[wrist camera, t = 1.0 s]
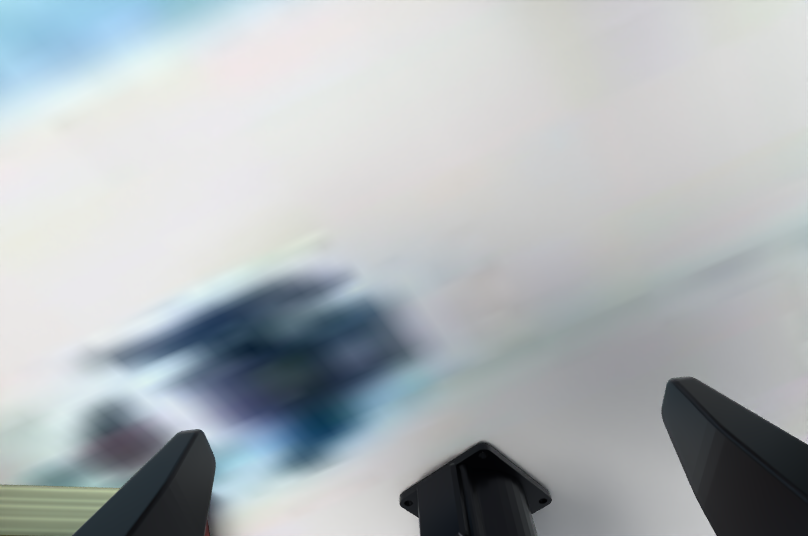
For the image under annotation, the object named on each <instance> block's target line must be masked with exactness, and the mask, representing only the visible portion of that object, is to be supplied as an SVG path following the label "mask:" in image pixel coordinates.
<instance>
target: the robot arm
mask: <svg viewBox="0 0 808 536" xmlns="http://www.w3.org/2000/svg"><path fill="white" fill-rule="evenodd" d="M661 411H662V419H663V422H664V424H665V427H666V429H667V431H668V434H669V436H670V438H671V441H672V443H673V445H674V448H675V450H676V453H677V455H678V457H679V460H680V462H681V464H682V467H683V469H684V471H685V474H686V476H687V478H688V481H689V483H690V485H691V488H692V490H693V492H694V494H695V496H696V498H697V500H698V502H699V504H700V506H701V508H702V510H703V512H704V513H705V515H706V517H707V519H708V521H709V523H710V524H711V526H712V528H713V530H714V532H715V533H716V535H717V536H808V445H807V444H806V443H804V442H802V441H801V440H799V439H797V438H795V437H794V436H792V435H790V434H789V433H787V432H785V431H784V430H782V429H780V428H779V427H777V426H775V425H773V424H772V423H770V422H768V421H767V420H765V419H763V418H762V417H760V416H758V415H757V414H755V413H753V412H751V411H750V410H748V409H746V408H745V407H743V406H741V405H740V404H738V403H736V402H735V401H733V400H731V399H729V398H728V397H726V396H724V395H723V394H721V393H719V392H718V391H716V390H714V389H713V388H711V387H709V386H707V385H706V384H704V383H702V382H701V381H699V380H697V379H695V378H693V377H680V378H672V379H670V380H669V381H668V382H667V385H666V390H665V394H664V399H663V404H662V410H661ZM482 452H483V453H482ZM215 468H216V462H215V457H214V454H213V452H212V450H211V447H210V445H209V443H208V441H207V438H206V436H205V434H204V432H203V431H202V430H199V429H196V430H186V431H181V432H179V433H177V434H176V435H175V436H174V437H173V438H172V439H171V440H170V441H169V442H168V443H167V444H166V445H165V446H164V447H163V448H162V449H160V450H159V451H158V452H157V453H156V454H155V455H154V456H153V457H152V458H151V459H150V460H149V461H148V462H147V463H146V464H145V465H144V466H143V467H142V468H141V469H140V470H139V471H138V472H137V473H136V474H135V475H134V476H133V477H132V478H131V479H130V480H129V481H127V482H126V483H125V484H124V485H123V486H122V487H121V488H120V489H119V490H118V491H117V492H116V493H115V494H114V495H113V496H112V497H111V498H110V499H109V500H108V501H107V502H106V503H105V504H104V505H103V506H102V507H101V508H100V509H99V510H98V511H97V512H96V513H94V514H93V515H92V516H91V517H90V518H89V519H88V520H87V521H86V522H85V523H84V524H83V525H82V526H81V527H80V528H79V529H78V530H77V531H76V532H75V533H74V534H73V535H72V536H204V535H205V529H206V523H207V517H208V511H209V505H210V499H211V493H212V487H213V481H214V475H215ZM551 501H552V499H551V496H550V493H549V491H548V490H546V489H545V488H544V487H542V486H541V485H540V484H539V483H537V482H536V481H535V480H534V479H532V478H531V477H530V476H528V475H527V474H526V473H525V472H523V471H522V470H521V469H519V468H518V467H517V466H516V465H514V464H513V463H512V462H510V461H509V460H508V459H507V458H505V457H504V456H503V455H501V454H500V453H499V452H498V451H496V450H495V449H494V448H492V447H491V446H490V445H488V444H486V443H481V444H478V445H476V446H474V447H473V448H471V449H469V450H468V451H466V452H465V453H463V454H462V455H460V456H459V457H457V458H456V459H454V460H452V461H451V462H449V463H448V464H446V465H445V466H443V467H442V468H440V469H439V470H437V471H436V472H434V473H432V474H431V475H429V476H428V477H426V478H425V479H423V480H422V481H420V482H419V483H417V484H416V485H414V486H412V487H411V488H409V489H408V490H406V491H405V492H403V493H402V494H401V495H400V506H401V507H402V508H404V509H406V510H407V511H409V512H410V513H412V514H413V515H415V516H417V517H418V518H419V527H420V536H537V532H536V529H535V525H534V522H533V518H532V515H531V514H533V513H535V512H536V511H538V510H540V509H542V508H543V507H545V506H547V505H548V504H550V503H551Z"/></svg>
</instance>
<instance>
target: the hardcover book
mask: <svg viewBox="0 0 808 536" xmlns="http://www.w3.org/2000/svg"><path fill="white" fill-rule="evenodd" d="M119 489H120V488H98V487H63V486H29V485H0V536H72V535H73V534H74V533H75V532H76V531H77V530H78V529H79V528H80V527H81V526H82V525H83V524H84V523H85V522H86V521H87V520H88V519H89V518H90V517H91V516H92V515H93V514H94V513H96V512H97V511H98V510H99V509H100V508H101V507H102V506H103V505H104V504H105V503H106V502H107V501H108V500H109V499H110V498H111V497H112V496H113V495H114V494H115V493H116V492H117V491H118V490H119ZM204 536H210V534H209V527H208V520H207V523H206V529H205V535H204Z"/></svg>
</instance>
